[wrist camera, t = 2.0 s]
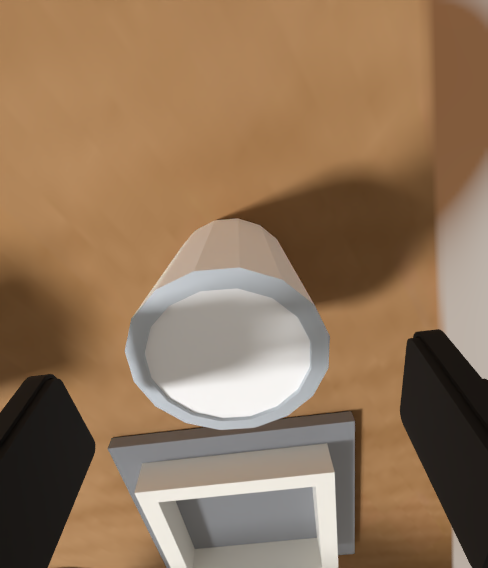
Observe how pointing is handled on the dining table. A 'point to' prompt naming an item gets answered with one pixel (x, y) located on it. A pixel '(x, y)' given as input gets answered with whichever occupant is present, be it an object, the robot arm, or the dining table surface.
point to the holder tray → (246, 492)
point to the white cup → (228, 332)
